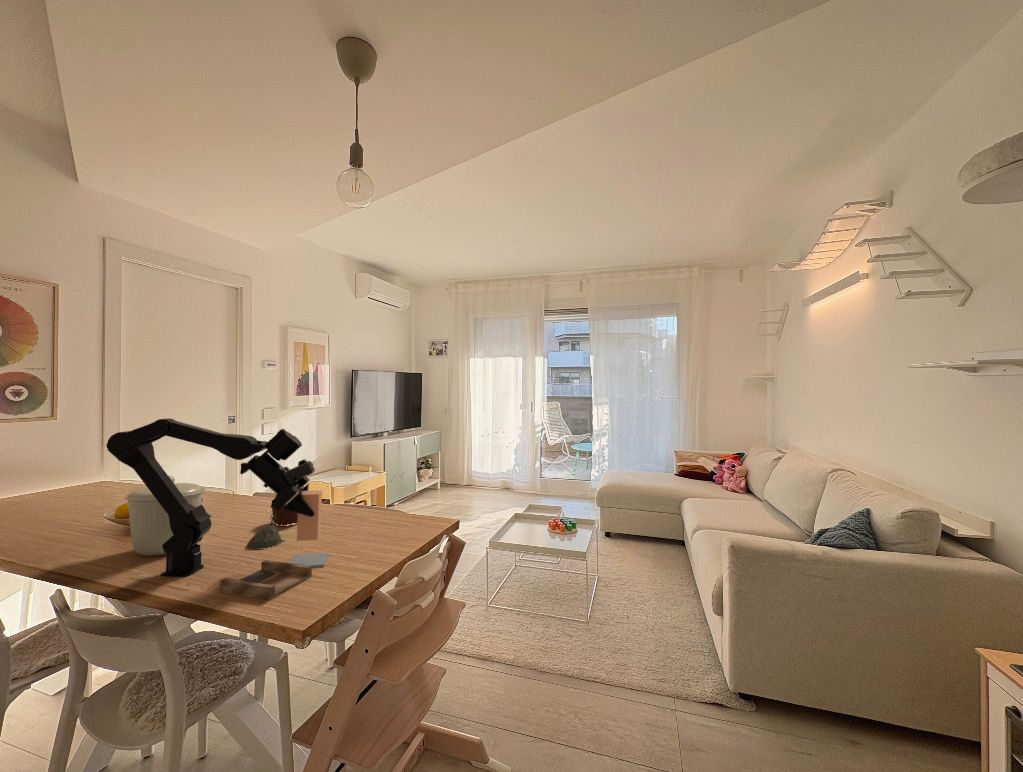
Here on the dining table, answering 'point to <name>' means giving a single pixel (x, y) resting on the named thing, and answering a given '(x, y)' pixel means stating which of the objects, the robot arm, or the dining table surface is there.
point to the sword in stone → (265, 537)
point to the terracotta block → (310, 525)
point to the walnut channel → (268, 580)
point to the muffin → (285, 516)
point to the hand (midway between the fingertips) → (315, 512)
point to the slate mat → (310, 559)
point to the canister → (155, 517)
